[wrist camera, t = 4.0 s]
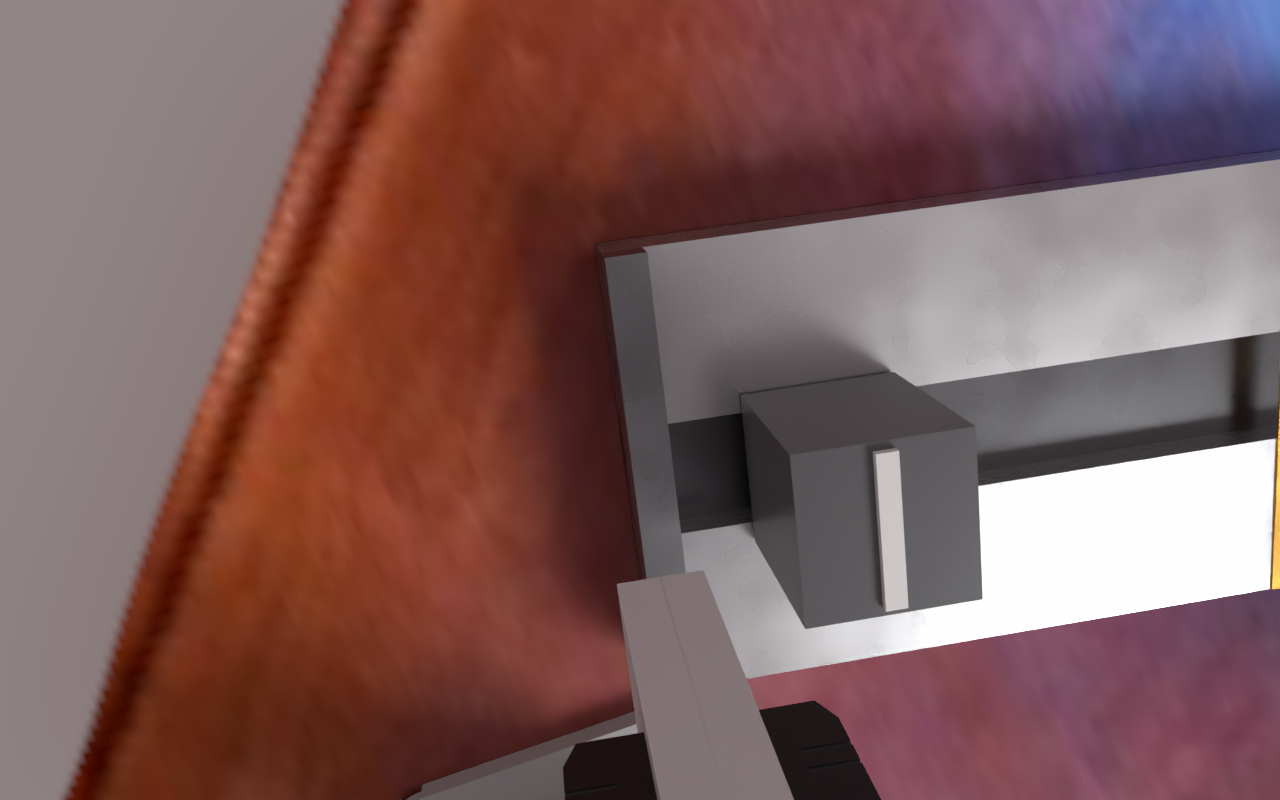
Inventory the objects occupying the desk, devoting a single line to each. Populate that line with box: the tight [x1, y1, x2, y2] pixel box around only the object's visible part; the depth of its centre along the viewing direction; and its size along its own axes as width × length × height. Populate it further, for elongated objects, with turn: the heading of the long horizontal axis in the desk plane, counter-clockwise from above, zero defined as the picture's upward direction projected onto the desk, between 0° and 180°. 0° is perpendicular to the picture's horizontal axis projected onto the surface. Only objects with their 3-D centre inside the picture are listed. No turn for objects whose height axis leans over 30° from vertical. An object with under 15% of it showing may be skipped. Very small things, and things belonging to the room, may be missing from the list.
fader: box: [740, 372, 983, 629], centre depth 25 cm, size 4×4×6 cm
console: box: [595, 150, 1280, 679], centre depth 29 cm, size 24×12×3 cm, turn 97°
